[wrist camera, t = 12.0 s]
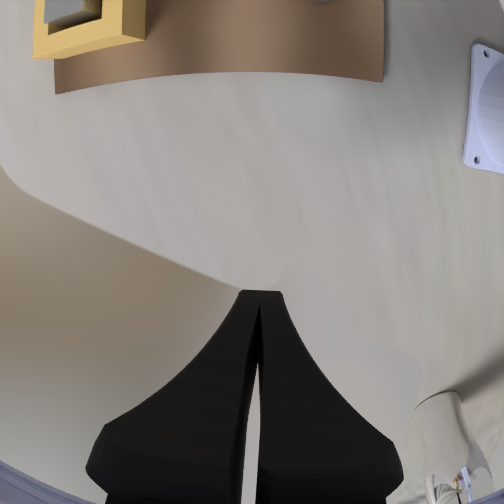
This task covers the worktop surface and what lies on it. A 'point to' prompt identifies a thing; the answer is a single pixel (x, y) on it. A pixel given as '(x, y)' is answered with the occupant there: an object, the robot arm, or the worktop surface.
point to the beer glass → (450, 453)
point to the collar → (89, 30)
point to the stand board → (229, 40)
